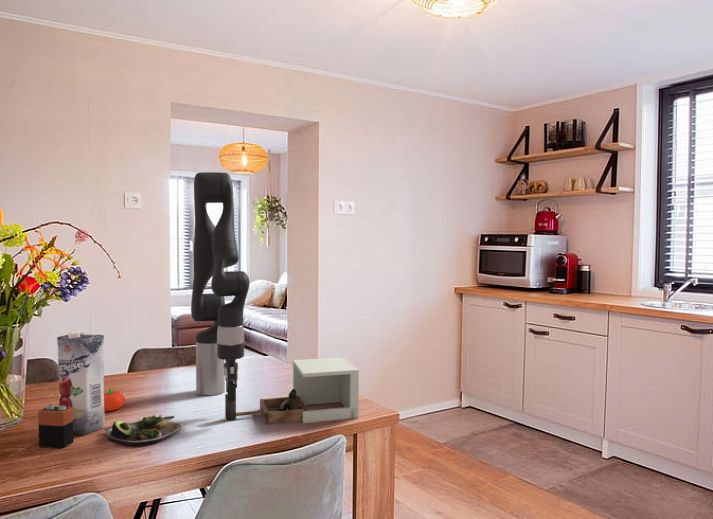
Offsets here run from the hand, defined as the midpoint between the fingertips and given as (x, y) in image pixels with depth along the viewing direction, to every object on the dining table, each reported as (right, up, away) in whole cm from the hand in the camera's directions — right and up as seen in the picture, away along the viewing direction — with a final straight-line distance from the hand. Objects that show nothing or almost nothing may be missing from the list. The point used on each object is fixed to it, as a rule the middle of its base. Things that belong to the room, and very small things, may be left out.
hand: (230, 396), depth 156 cm
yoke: (+9, -6, +2) cm, 11 cm away
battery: (-39, -7, -20) cm, 44 cm away
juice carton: (-38, -7, -9) cm, 40 cm away
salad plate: (-21, -7, -12) cm, 25 cm away
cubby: (+26, -6, +7) cm, 28 cm away
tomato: (-38, -6, +9) cm, 39 cm away
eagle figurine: (+16, -7, +6) cm, 18 cm away
